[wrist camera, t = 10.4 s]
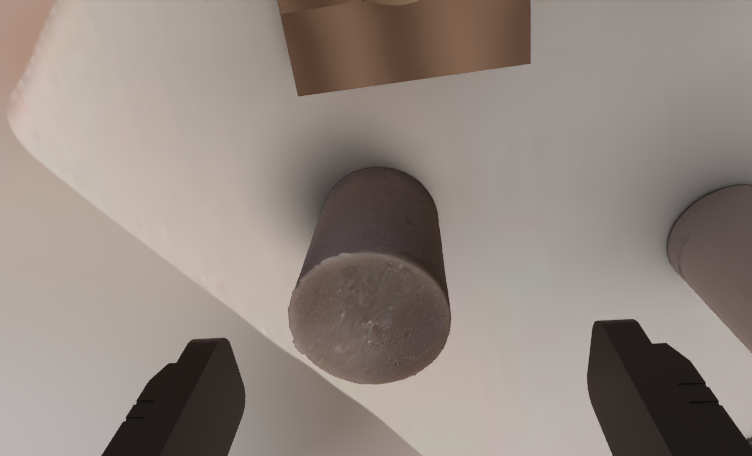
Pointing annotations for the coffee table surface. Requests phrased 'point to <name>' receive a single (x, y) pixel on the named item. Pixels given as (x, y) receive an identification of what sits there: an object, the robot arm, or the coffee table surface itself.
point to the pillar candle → (373, 281)
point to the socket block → (400, 40)
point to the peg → (393, 2)
